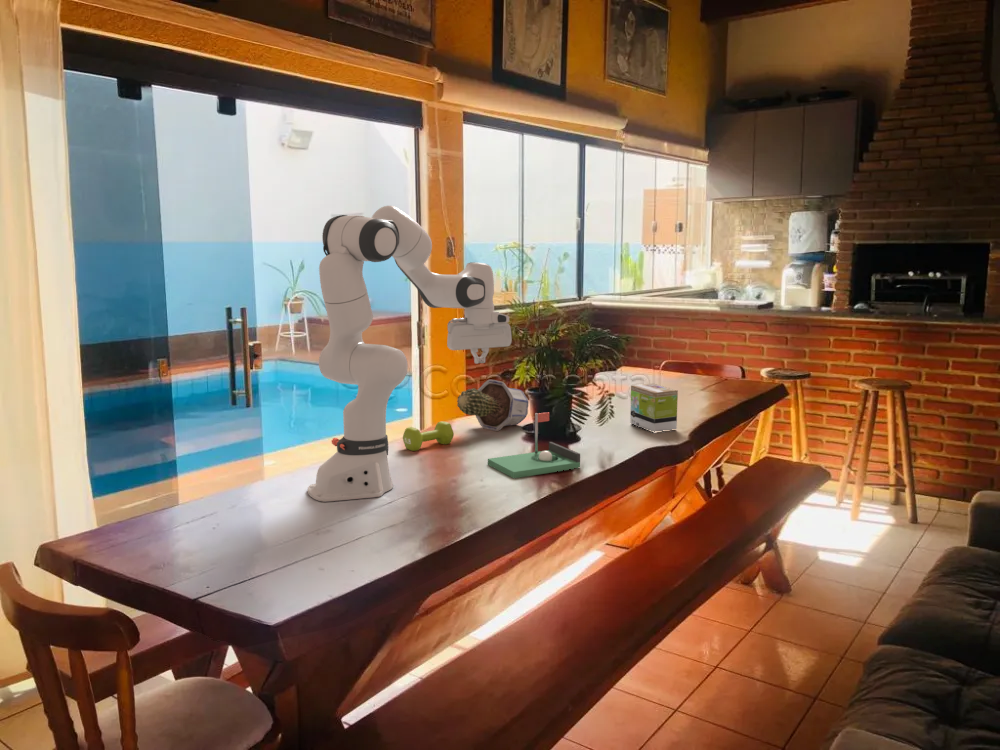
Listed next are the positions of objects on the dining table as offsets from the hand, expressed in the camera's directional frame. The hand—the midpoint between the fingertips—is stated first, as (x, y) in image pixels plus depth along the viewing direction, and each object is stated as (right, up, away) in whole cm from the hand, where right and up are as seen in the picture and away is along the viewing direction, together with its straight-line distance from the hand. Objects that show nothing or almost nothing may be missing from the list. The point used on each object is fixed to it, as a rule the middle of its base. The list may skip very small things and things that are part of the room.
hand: (479, 363), depth 243 cm
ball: (+19, -28, -5) cm, 34 cm away
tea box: (+60, -23, +42) cm, 77 cm away
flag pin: (+19, -29, +3) cm, 35 cm away
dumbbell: (-17, -27, +18) cm, 37 cm away
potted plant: (+2, -23, +41) cm, 47 cm away
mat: (+16, -30, -6) cm, 35 cm away
